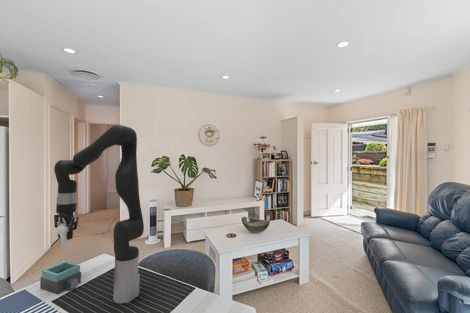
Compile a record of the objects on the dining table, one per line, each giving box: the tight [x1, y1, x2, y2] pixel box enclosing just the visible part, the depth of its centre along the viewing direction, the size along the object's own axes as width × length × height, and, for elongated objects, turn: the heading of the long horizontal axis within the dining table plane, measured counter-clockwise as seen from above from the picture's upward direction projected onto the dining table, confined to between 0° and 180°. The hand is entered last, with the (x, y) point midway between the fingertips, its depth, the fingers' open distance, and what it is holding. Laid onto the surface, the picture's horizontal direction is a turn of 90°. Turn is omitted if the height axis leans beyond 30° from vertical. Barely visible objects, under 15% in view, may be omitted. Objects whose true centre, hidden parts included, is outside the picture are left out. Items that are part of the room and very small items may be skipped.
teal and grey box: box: [39, 261, 82, 295], centre depth 99 cm, size 15×10×8 cm, turn 70°
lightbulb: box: [56, 223, 70, 247], centre depth 101 cm, size 6×6×11 cm
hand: (65, 237), depth 101 cm, fingers closed on lightbulb, 5 cm apart
